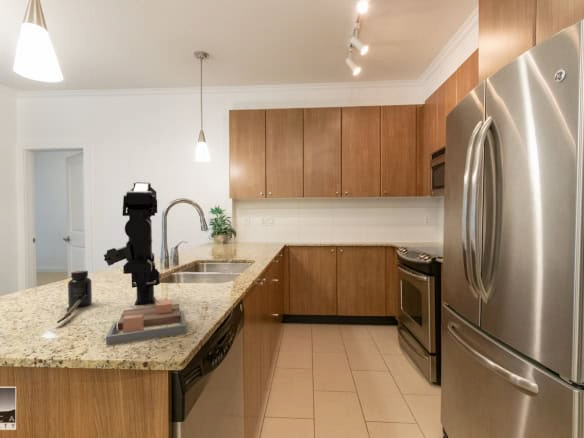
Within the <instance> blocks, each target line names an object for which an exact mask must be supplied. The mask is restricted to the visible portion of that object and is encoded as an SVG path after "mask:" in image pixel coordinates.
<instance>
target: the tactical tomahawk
mask: <svg viewBox="0 0 584 438" xmlns="http://www.w3.org/2000/svg"><path fill="white" fill-rule="evenodd" d="M86 297H87V295H85V296H84V297H82V298H81V299H79V300H78V301H76V302H75V303H73V304H72V305H70V306H69V305H68V307H67V308H66V310H68V311H67V312H66V313H65V314H64V316H63V317H61V318H60V319H59V320H57V321H56V323H57V324H59V323H61V322H63V321H64V320H66V319H67V318H68V317H70V316H72V314H73V313H74V312H75V310H76V309H77V308H76V307H77V306H78V305H79V304H80V302H81V300H82V299H84V298H86ZM71 307H72V308H71Z"/></svg>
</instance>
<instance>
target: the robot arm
mask: <svg viewBox="0 0 584 438" xmlns="http://www.w3.org/2000/svg"><path fill="white" fill-rule="evenodd" d="M122 201H123V202H122V217H123V216H124V217H129V218H128V220H127V221H126V222H125V225H124V233H125V234H126V236H127V237H128V240H127V241H126V243H125V246H122V247H119V248H115V247H112V248H111V249H107V250H106V253H104V254H103V257H104V261H105V262H106V264H107V266H108V267H109V266H113V265H114V264H116V263H118V262H121V261H124V260H126V263H124V265H123V266H122V267H123V271H122V273H123V274H124V275H127V274H130V275H131V288H132V289H133V288H136V299H135V302H134V306H139V305H149V304H156V297H155V286H158V285H160V283H161V282H160V281H161V280H160V279H161V278H160V272H159V270H158V268H156V262H155V254H154V253H153V236H152V235H153V232H152V230H153V229H152V227H153V226H152V224H153V223H152V219H151V217H155V216H156V214H158V199H157V191H156V190H155V189H154V188H153V187H152V185H151V183H149V182H145V181H144V182H143V181H136V182H133V188H131V189H130V190H127V191H126V193H125V194H123V199H122Z"/></svg>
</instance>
